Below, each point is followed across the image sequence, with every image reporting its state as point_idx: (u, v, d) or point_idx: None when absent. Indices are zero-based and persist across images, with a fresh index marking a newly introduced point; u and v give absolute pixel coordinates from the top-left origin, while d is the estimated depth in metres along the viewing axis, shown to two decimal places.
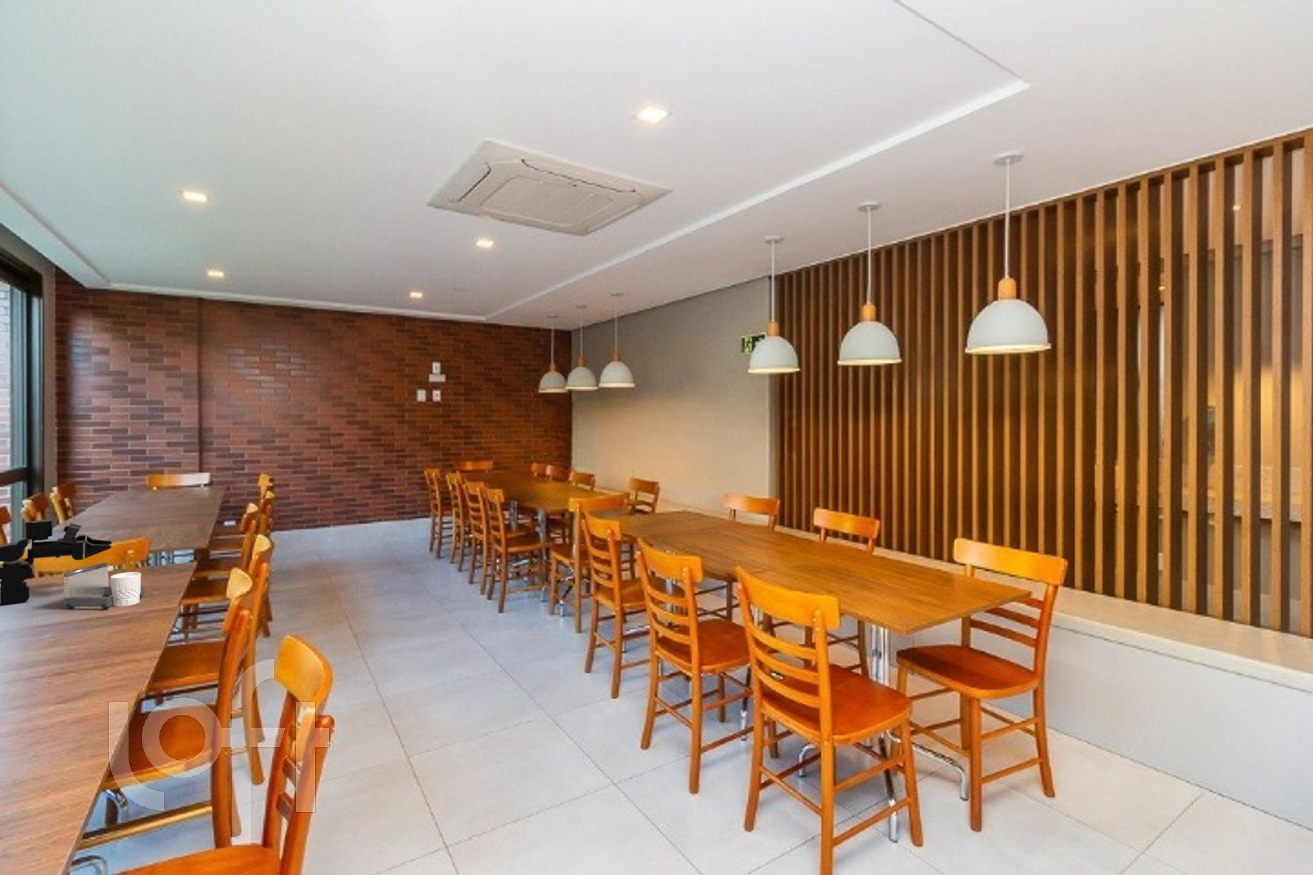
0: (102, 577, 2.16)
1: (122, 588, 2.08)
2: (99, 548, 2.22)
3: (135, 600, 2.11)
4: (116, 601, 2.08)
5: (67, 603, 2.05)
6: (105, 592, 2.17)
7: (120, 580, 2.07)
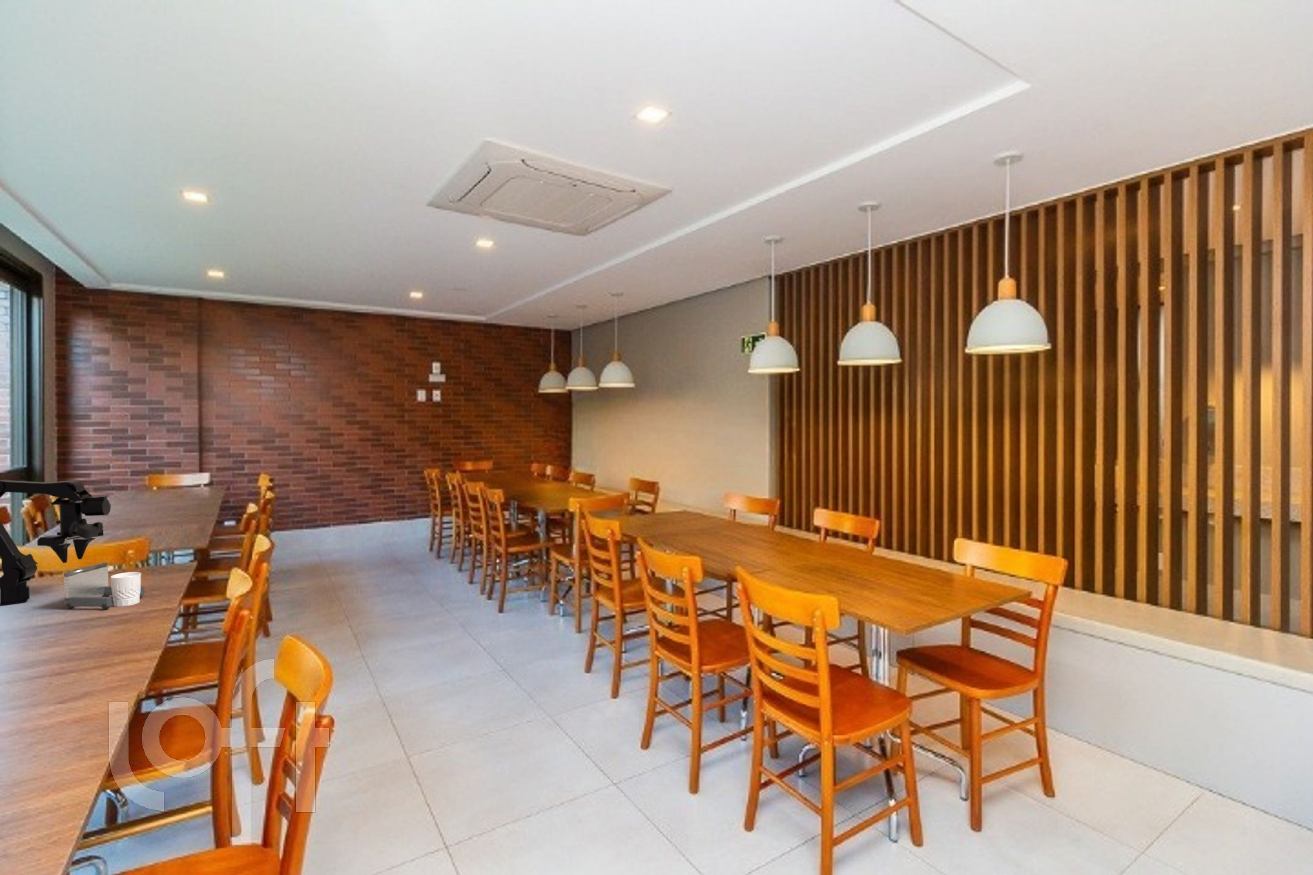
0: (102, 577, 2.16)
1: (122, 588, 2.08)
2: (61, 554, 2.14)
3: (135, 600, 2.11)
4: (116, 601, 2.08)
5: (67, 603, 2.05)
6: (105, 592, 2.17)
7: (120, 580, 2.07)
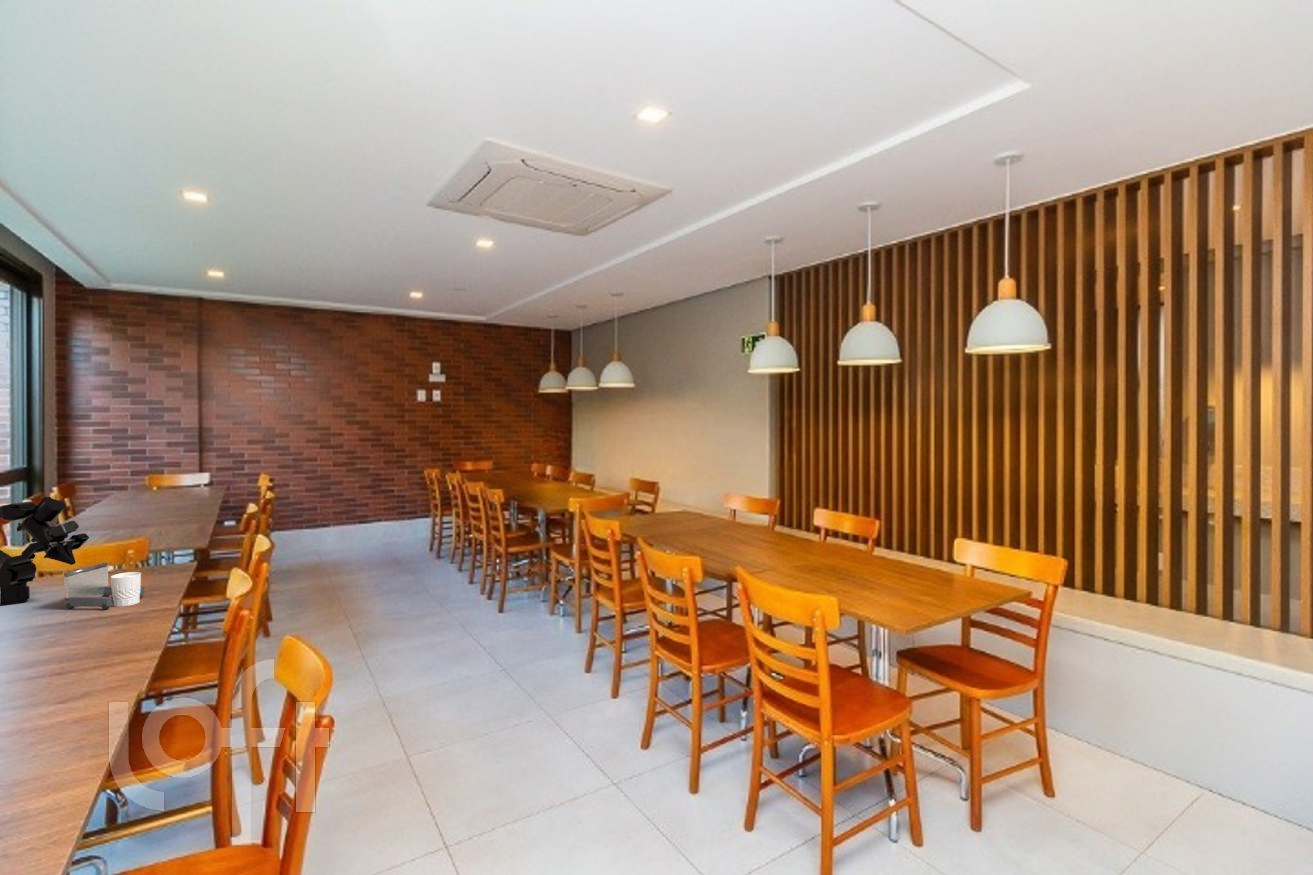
0: (102, 577, 2.16)
1: (122, 588, 2.08)
2: (63, 558, 2.10)
3: (135, 600, 2.11)
4: (116, 601, 2.08)
5: (67, 603, 2.05)
6: (105, 592, 2.17)
7: (120, 580, 2.07)
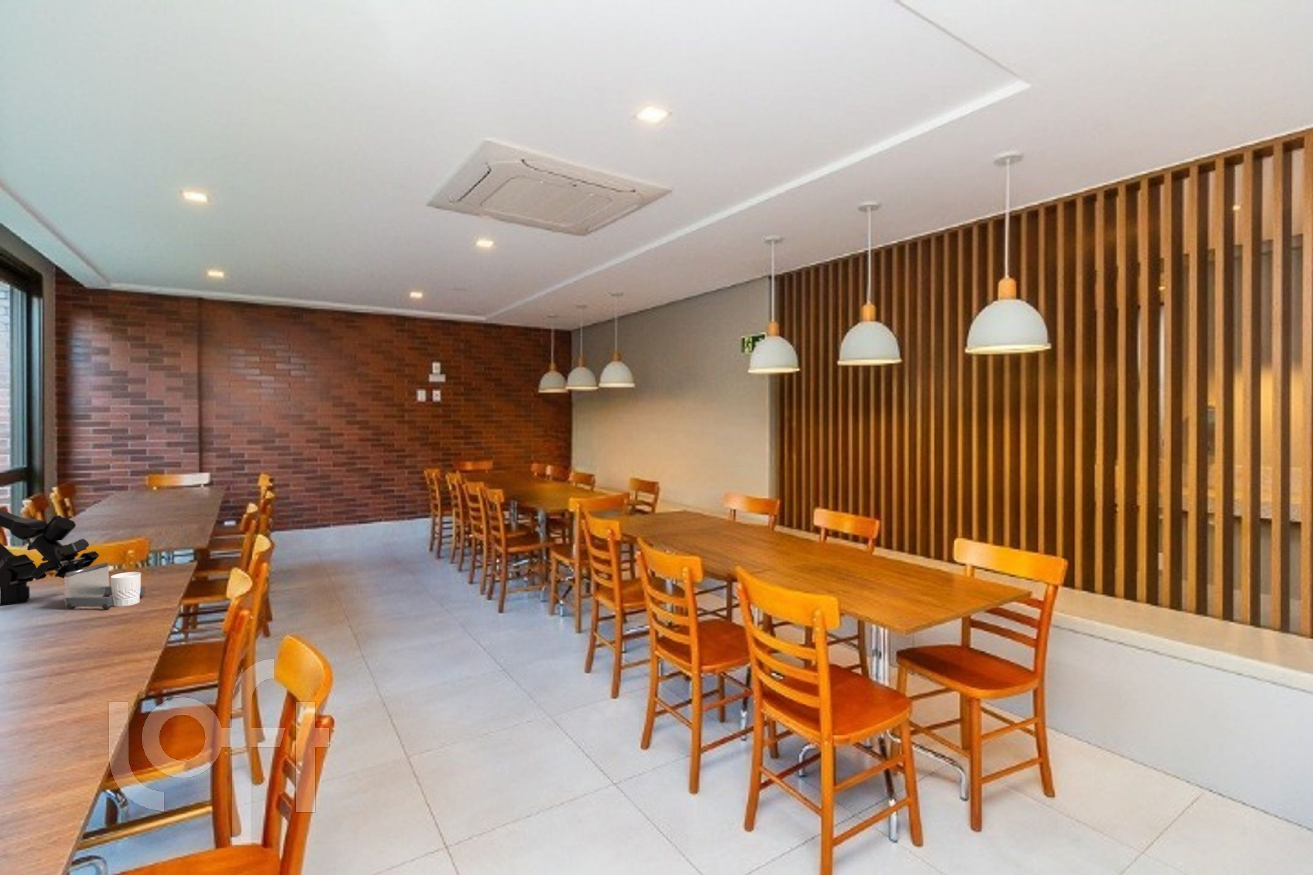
0: (102, 577, 2.16)
1: (122, 588, 2.08)
2: None
3: (135, 600, 2.11)
4: (116, 601, 2.08)
5: (68, 603, 2.05)
6: (106, 592, 2.17)
7: (120, 580, 2.07)
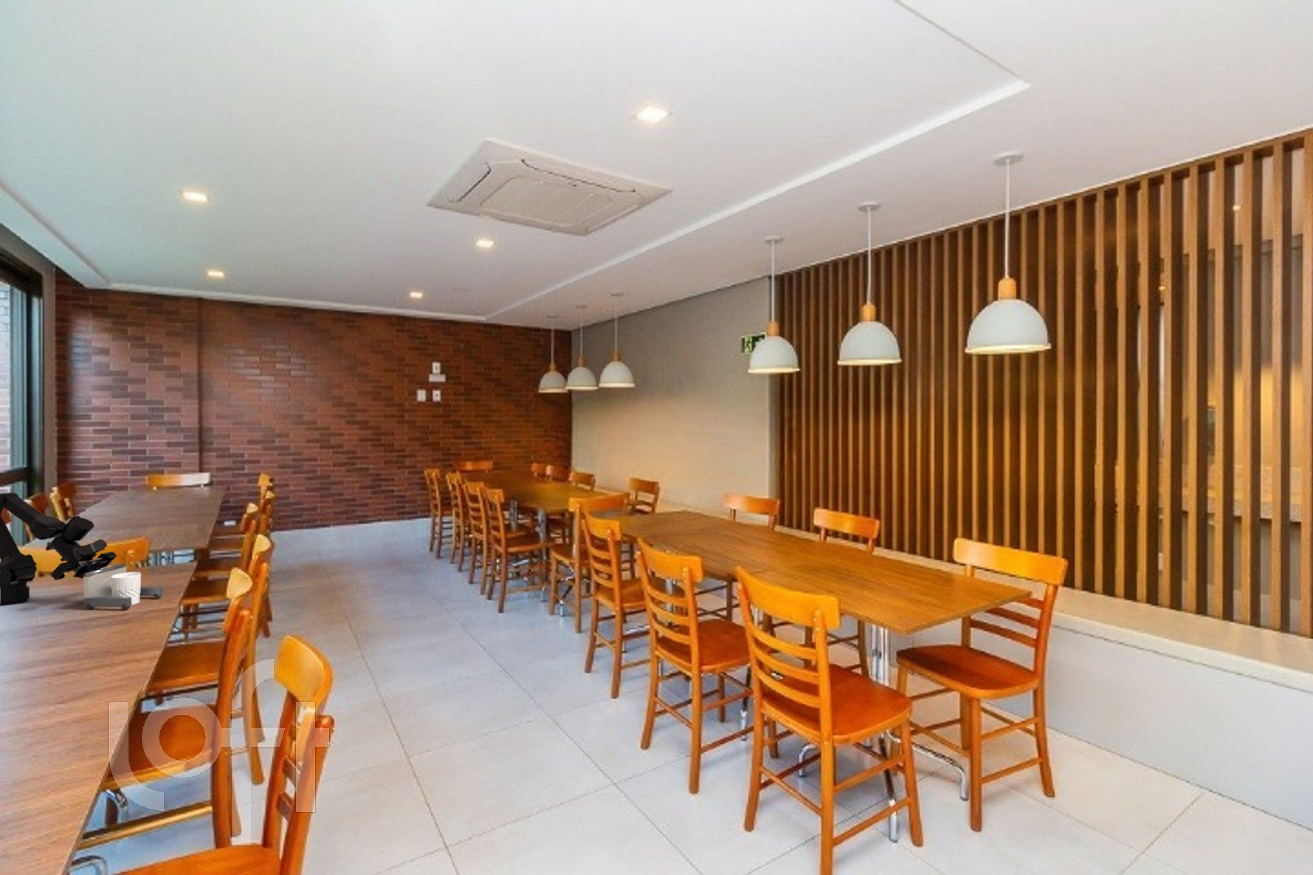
0: None
1: (122, 588, 2.08)
2: None
3: (135, 600, 2.11)
4: None
5: (87, 604, 2.04)
6: None
7: (120, 580, 2.07)
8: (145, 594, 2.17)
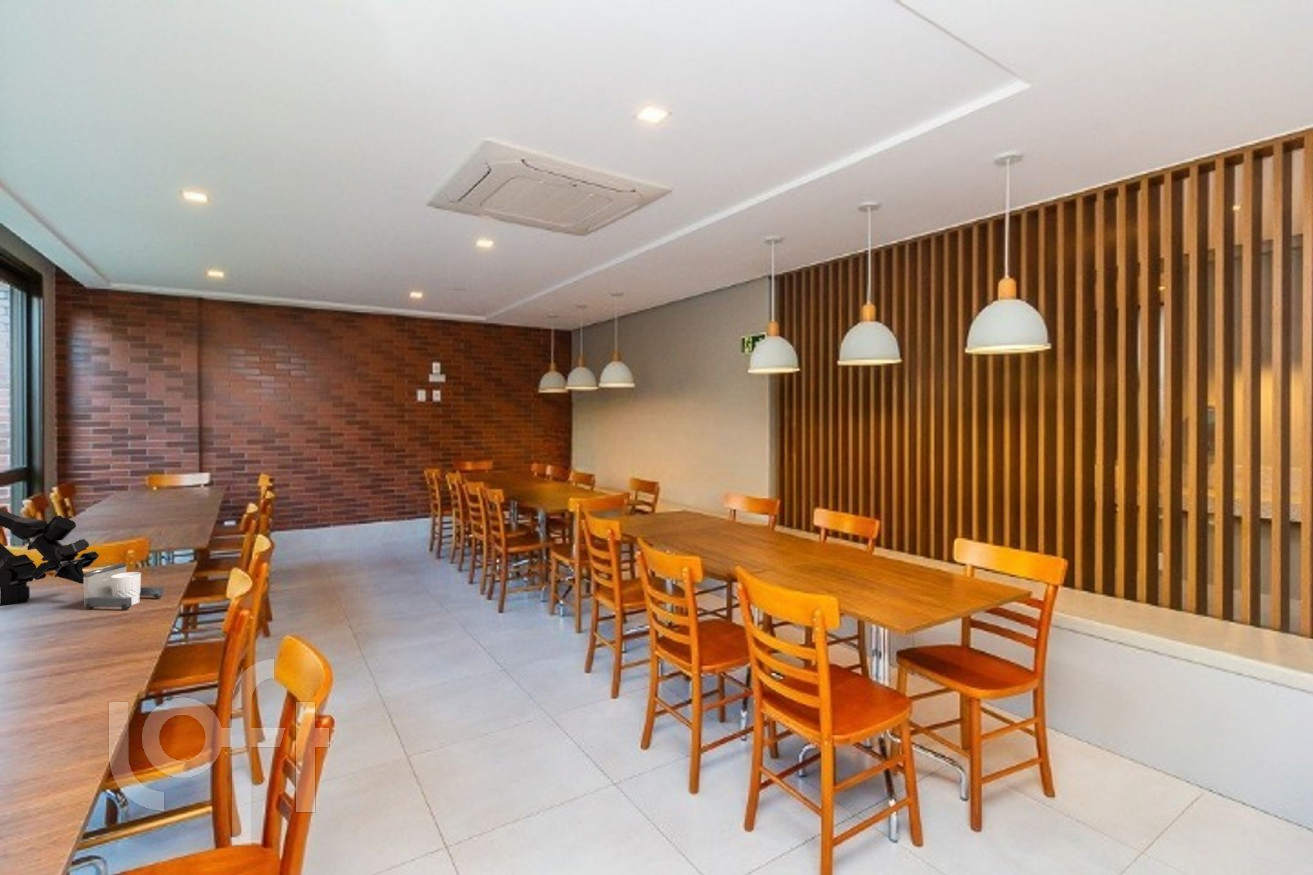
0: None
1: (122, 588, 2.08)
2: (73, 577, 2.10)
3: (135, 600, 2.11)
4: None
5: (87, 604, 2.04)
6: None
7: (120, 580, 2.07)
8: (145, 594, 2.17)
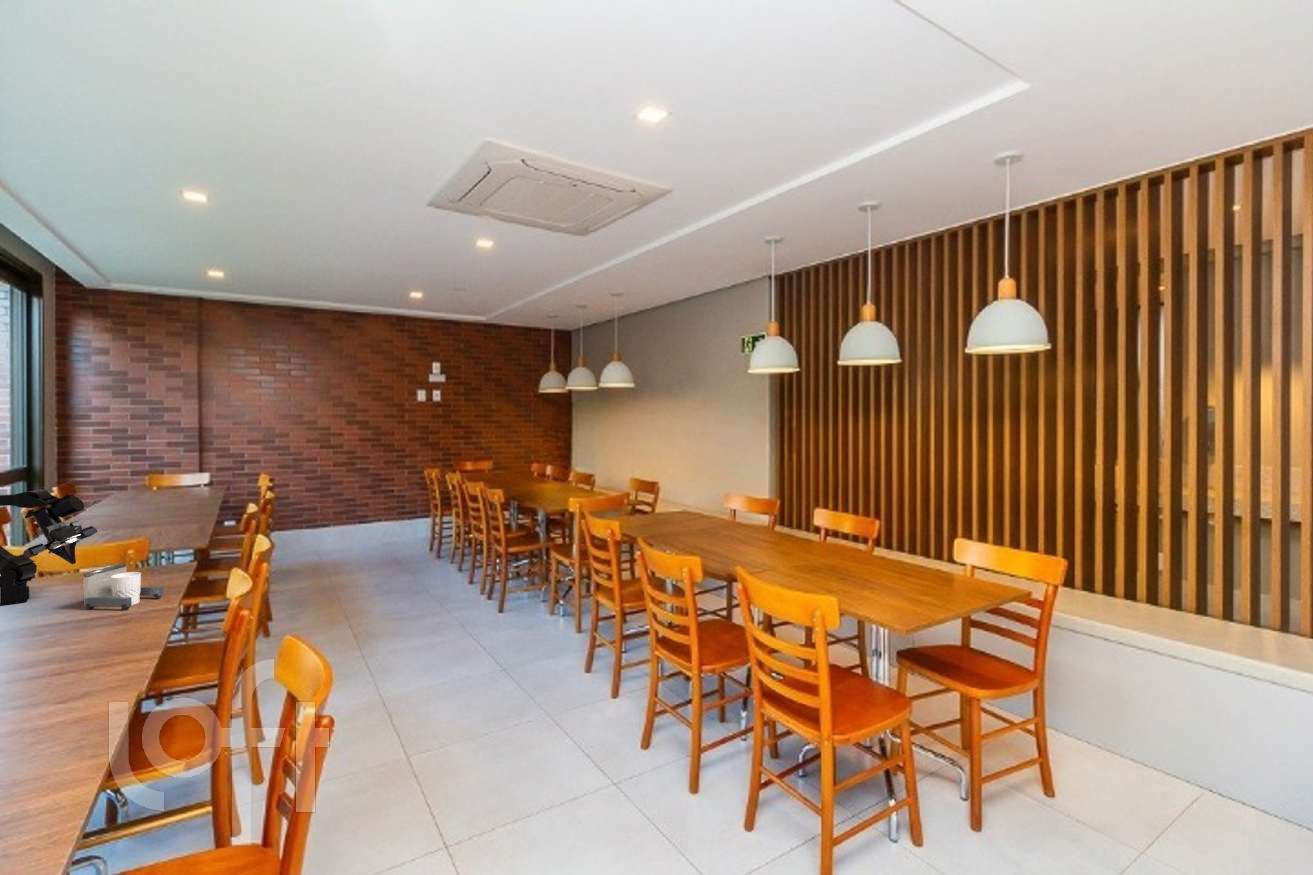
0: None
1: (122, 588, 2.08)
2: (64, 557, 2.14)
3: (135, 600, 2.11)
4: None
5: (87, 604, 2.04)
6: None
7: (120, 580, 2.07)
8: (145, 594, 2.17)
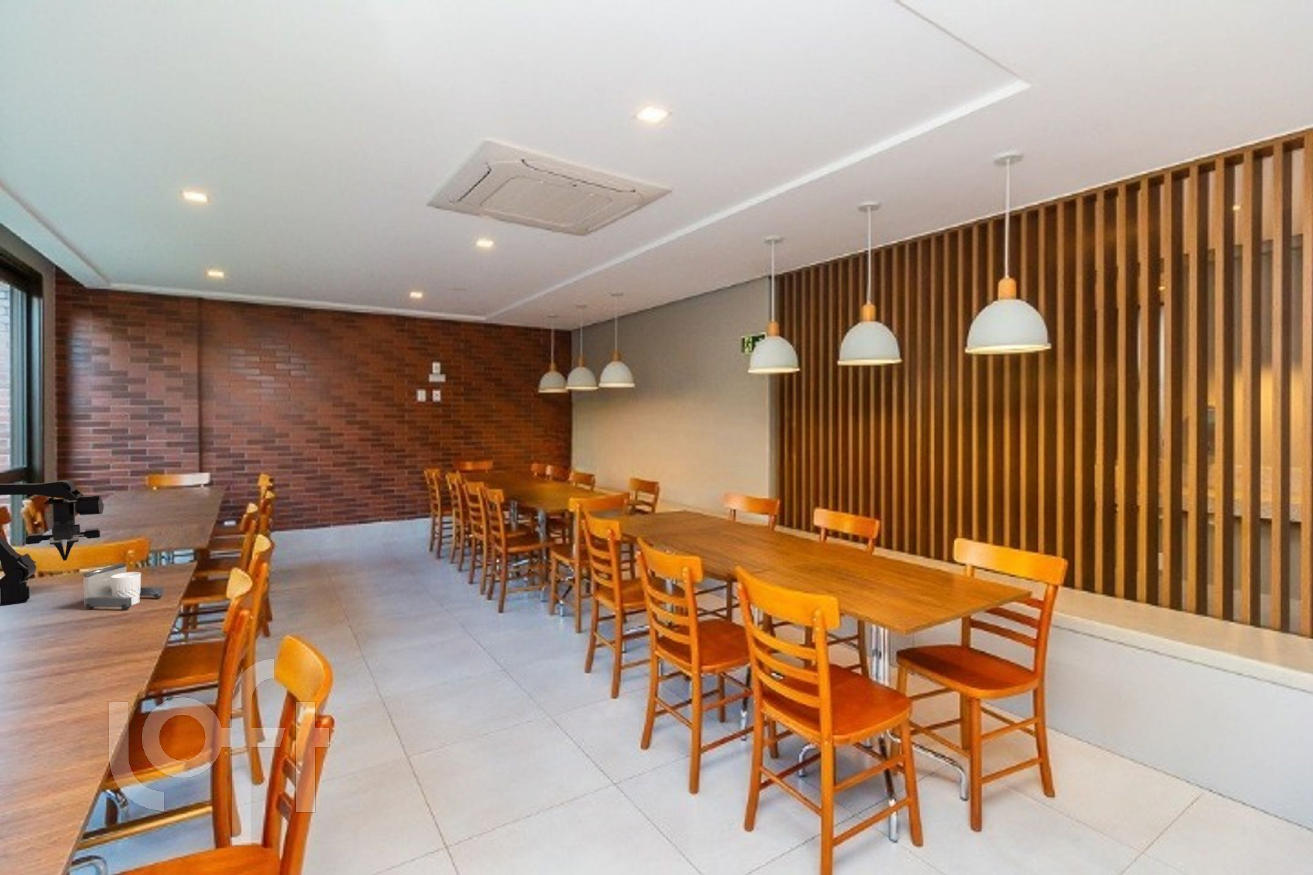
0: None
1: (122, 588, 2.08)
2: None
3: (135, 600, 2.11)
4: None
5: (87, 604, 2.04)
6: None
7: (120, 580, 2.07)
8: (145, 594, 2.17)
